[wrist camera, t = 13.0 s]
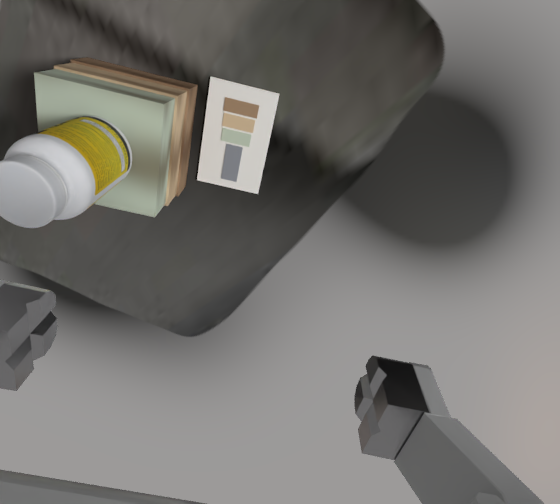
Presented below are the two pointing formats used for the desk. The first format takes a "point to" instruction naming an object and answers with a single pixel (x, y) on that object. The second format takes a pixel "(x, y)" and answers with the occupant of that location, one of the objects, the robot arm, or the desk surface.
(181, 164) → the brick tower
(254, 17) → the desk surface
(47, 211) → the supplement bottle
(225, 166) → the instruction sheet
